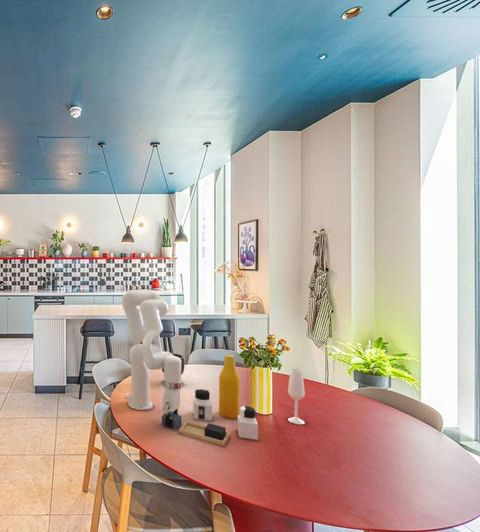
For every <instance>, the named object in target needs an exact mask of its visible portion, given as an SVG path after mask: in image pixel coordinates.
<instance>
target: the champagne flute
mask: <svg viewBox="0 0 480 532" xmlns="http://www.w3.org/2000/svg"><path fill="white" fill-rule="evenodd" d="M304 382H305V381H304V373H303V370H302V369H300V368H290V371H289V378H288V388H287V394H288V395H289V397H291V399H292V400H294V416H292V417H289V418H287V420H288V422H289V423H292V424H296V425H304V424H306V422H305V421H304V420H302V419H301V418H300V417H298V416H299V411H298V410H299V401H301V400H302V399H304V397H305V396H306V392H305V383H304Z"/></svg>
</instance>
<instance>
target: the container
mask: <svg viewBox="0 0 480 532" xmlns="http://www.w3.org/2000/svg"><path fill="white" fill-rule="evenodd" d="M210 396H211V395H210V391H209V390H208V389H205V388H197V389H195V390H194V397H193V398H192V413H193V418H194V419H195V420H204V421H212V420H213V404H212V401H211V399H210V398H211V397H210Z"/></svg>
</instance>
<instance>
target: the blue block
mask: <svg viewBox="0 0 480 532" xmlns="http://www.w3.org/2000/svg"><path fill="white" fill-rule="evenodd" d="M168 414H170V412H168ZM172 419H173V422H172V428H171V427H169V428H171V429H174V430H178V429H179V428H180V427H181V425H182V415H181V414H178V415H177V414H174V413H172ZM161 426H163V427H166V426H165V414H164V413H163V414H162V415H161Z"/></svg>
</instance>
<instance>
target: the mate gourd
mask: <svg viewBox="0 0 480 532" xmlns="http://www.w3.org/2000/svg"><path fill="white" fill-rule="evenodd" d="M170 353H171V354H173V355H174V356H176V357H179V358H180V359H181V376H182V375H183V374H184V371H185V358H184V355H183V354H179V353H174V352H170ZM161 371H162V373H163V374H164V369H161ZM162 385H164V379H163V380H162ZM183 385H184V382H183V381H181V387H182V386H183Z"/></svg>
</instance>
